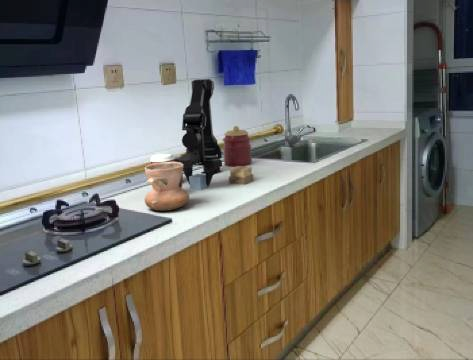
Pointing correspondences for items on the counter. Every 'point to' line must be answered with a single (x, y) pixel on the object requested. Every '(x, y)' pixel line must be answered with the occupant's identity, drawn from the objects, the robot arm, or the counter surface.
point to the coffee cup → (161, 158)
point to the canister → (237, 148)
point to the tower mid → (241, 171)
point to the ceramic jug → (165, 186)
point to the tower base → (241, 180)
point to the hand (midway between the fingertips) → (199, 185)
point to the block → (198, 182)
